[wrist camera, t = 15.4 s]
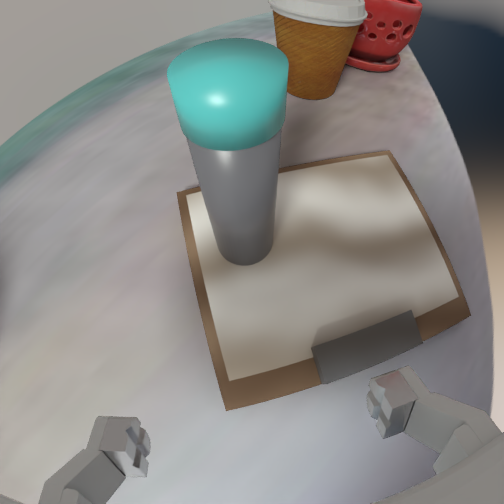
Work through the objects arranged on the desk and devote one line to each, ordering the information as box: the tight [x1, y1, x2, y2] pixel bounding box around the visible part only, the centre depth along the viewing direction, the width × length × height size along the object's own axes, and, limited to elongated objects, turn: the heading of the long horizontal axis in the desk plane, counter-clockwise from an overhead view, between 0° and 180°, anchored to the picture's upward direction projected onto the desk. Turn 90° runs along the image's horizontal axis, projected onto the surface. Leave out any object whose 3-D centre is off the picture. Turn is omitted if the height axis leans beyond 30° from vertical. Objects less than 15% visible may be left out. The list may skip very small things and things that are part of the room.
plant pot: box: [345, 0, 422, 72], centre depth 29 cm, size 13×13×12 cm
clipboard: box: [177, 150, 471, 411], centre depth 20 cm, size 16×19×2 cm
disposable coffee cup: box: [268, 0, 368, 100], centre depth 25 cm, size 10×10×12 cm
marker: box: [167, 38, 289, 266], centre depth 15 cm, size 4×4×13 cm
